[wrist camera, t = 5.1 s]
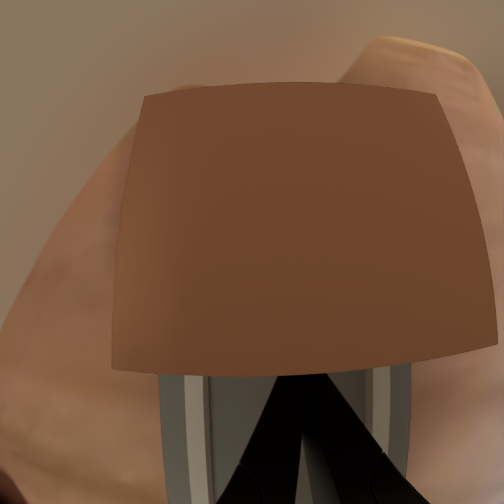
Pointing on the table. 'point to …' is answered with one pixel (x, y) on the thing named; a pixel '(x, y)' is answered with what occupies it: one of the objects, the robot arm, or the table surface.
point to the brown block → (297, 234)
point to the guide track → (247, 415)
